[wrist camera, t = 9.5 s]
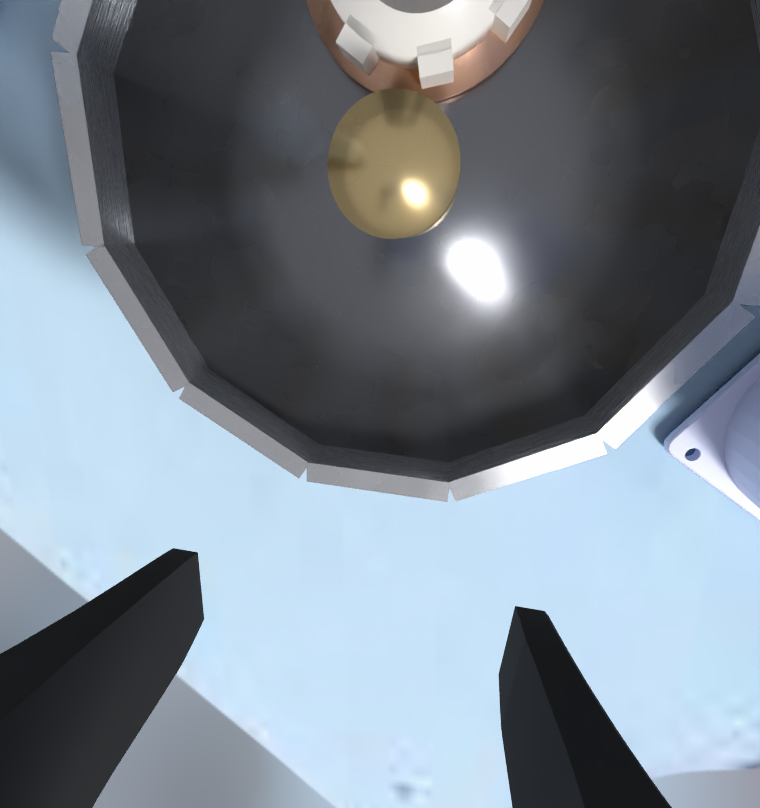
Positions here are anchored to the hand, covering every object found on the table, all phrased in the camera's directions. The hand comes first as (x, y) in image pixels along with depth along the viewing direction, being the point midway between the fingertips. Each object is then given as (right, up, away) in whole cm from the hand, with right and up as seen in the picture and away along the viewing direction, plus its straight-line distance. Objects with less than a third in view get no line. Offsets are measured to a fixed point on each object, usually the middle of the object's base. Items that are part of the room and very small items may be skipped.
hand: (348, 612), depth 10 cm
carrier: (+2, +12, +5) cm, 13 cm away
